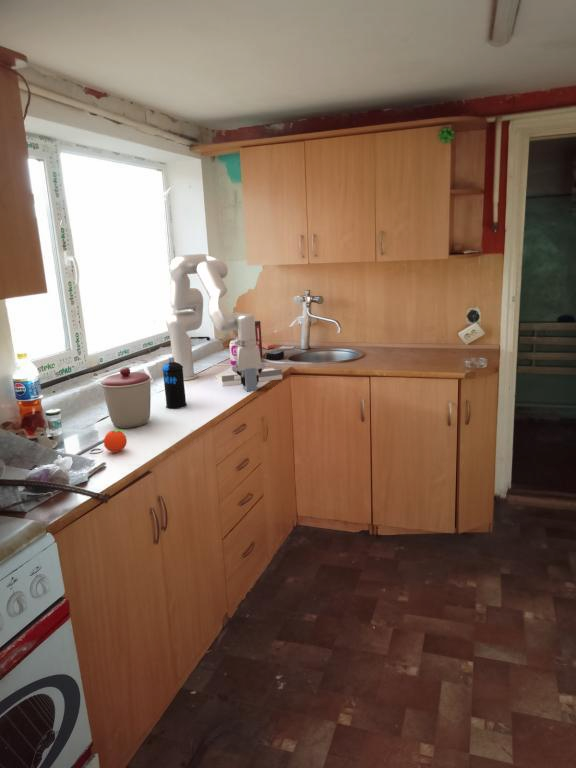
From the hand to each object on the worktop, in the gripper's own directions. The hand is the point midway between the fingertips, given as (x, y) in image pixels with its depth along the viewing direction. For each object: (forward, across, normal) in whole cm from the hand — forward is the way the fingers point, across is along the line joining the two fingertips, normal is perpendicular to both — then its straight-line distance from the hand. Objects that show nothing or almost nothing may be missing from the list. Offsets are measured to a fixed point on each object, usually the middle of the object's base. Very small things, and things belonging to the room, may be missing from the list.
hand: (250, 384), depth 246 cm
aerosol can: (+3, -33, -11) cm, 35 cm away
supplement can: (+3, +4, +41) cm, 41 cm away
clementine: (+3, -56, -55) cm, 79 cm away
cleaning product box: (+3, +15, +62) cm, 64 cm away
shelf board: (+2, +4, +20) cm, 21 cm away
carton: (+2, 0, 0) cm, 2 cm away
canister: (+3, -51, -27) cm, 58 cm away
